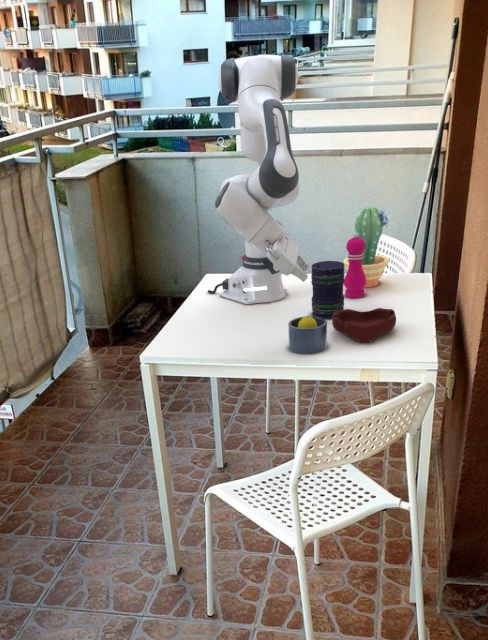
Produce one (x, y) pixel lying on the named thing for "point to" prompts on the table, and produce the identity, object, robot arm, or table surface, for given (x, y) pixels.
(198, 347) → the table surface
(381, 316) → the ashtray
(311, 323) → the lemon
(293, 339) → the cup
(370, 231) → the potted cactus
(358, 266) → the pepper mill
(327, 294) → the dark blue barrel
